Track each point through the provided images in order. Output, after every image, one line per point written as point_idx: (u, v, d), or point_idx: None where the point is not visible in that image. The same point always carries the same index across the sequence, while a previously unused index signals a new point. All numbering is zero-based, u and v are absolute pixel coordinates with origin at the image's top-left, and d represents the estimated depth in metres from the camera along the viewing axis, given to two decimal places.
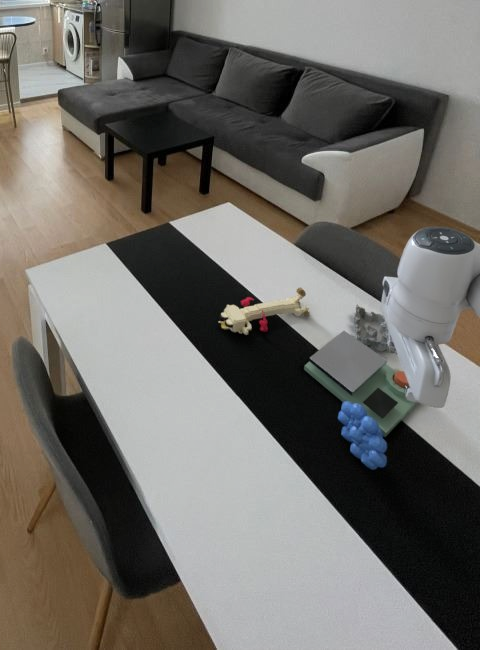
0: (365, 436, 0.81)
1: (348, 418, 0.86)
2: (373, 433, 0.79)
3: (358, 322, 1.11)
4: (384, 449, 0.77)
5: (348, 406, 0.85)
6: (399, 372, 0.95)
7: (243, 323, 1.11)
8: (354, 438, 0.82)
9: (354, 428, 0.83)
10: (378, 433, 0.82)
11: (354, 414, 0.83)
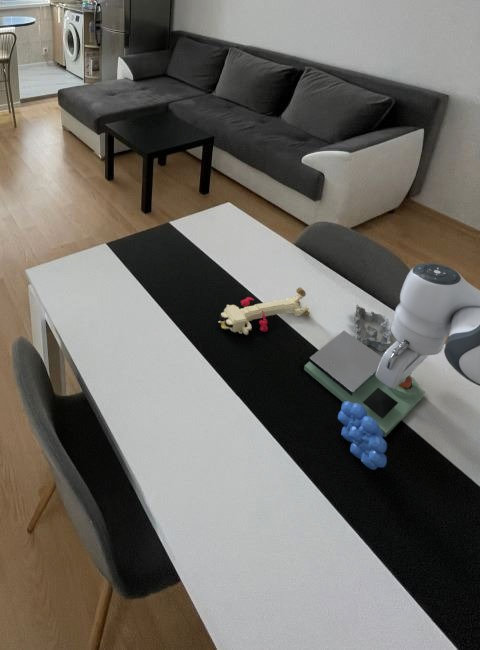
0: (365, 436, 0.81)
1: (348, 418, 0.86)
2: (373, 433, 0.79)
3: (358, 322, 1.11)
4: (384, 449, 0.77)
5: (348, 406, 0.85)
6: None
7: (243, 323, 1.11)
8: (354, 438, 0.82)
9: (354, 428, 0.83)
10: (378, 433, 0.82)
11: (354, 414, 0.83)
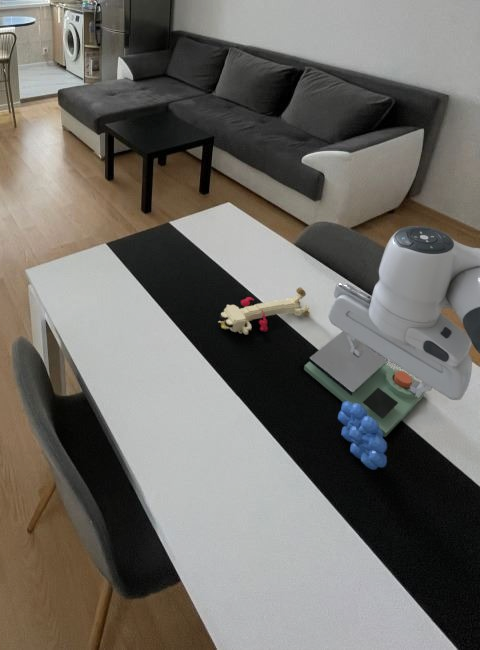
0: (365, 436, 0.81)
1: (348, 418, 0.86)
2: (373, 433, 0.79)
3: None
4: (384, 449, 0.77)
5: (348, 406, 0.85)
6: (399, 372, 0.96)
7: (243, 323, 1.11)
8: (354, 438, 0.82)
9: (354, 428, 0.83)
10: (378, 433, 0.82)
11: (354, 414, 0.83)
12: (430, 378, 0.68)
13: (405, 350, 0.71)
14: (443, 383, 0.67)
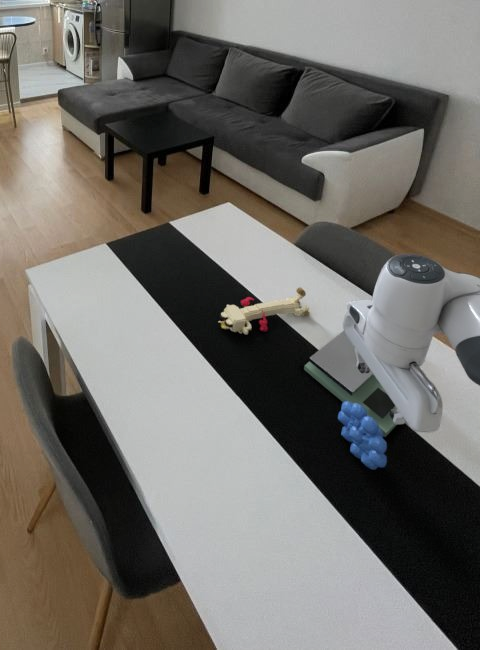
0: (365, 436, 0.81)
1: (348, 418, 0.86)
2: (373, 433, 0.79)
3: None
4: (384, 449, 0.77)
5: (348, 406, 0.85)
6: None
7: (243, 323, 1.11)
8: (354, 438, 0.82)
9: (354, 428, 0.83)
10: (378, 433, 0.82)
11: (354, 414, 0.83)
12: None
13: None
14: None
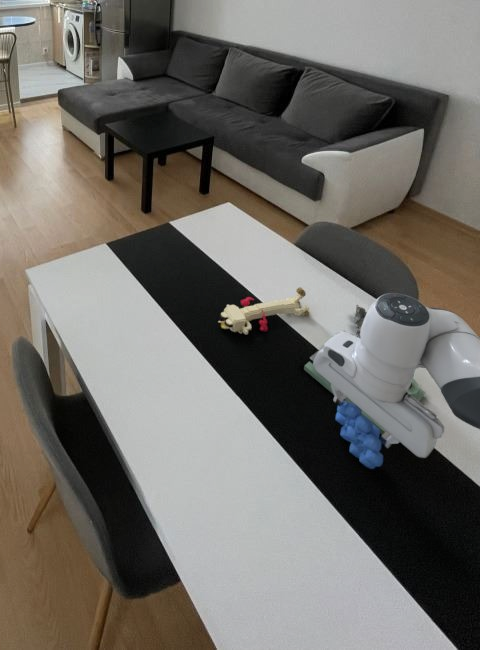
0: (360, 436, 0.81)
1: (345, 418, 0.86)
2: (367, 432, 0.79)
3: (358, 322, 1.11)
4: (378, 448, 0.77)
5: (343, 406, 0.86)
6: None
7: (243, 323, 1.11)
8: (350, 438, 0.82)
9: (350, 428, 0.83)
10: (374, 432, 0.82)
11: (348, 414, 0.83)
12: None
13: None
14: None
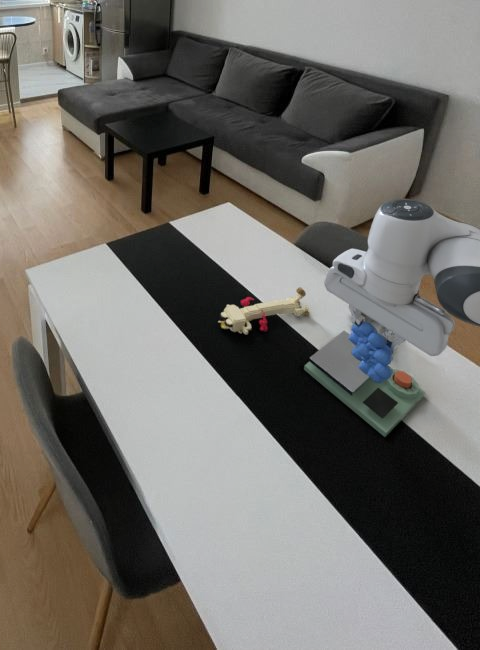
0: (372, 351, 0.82)
1: (358, 337, 0.87)
2: (379, 347, 0.80)
3: None
4: (388, 361, 0.78)
5: None
6: (399, 372, 0.96)
7: (243, 323, 1.11)
8: (361, 354, 0.84)
9: (362, 345, 0.84)
10: (387, 350, 0.83)
11: (362, 331, 0.84)
12: None
13: None
14: None
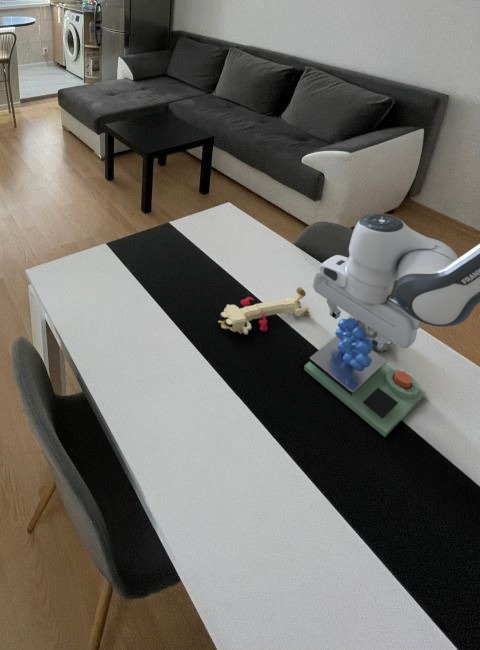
0: (354, 343, 0.94)
1: (343, 332, 0.99)
2: (361, 339, 0.93)
3: (358, 322, 1.11)
4: (368, 350, 0.90)
5: (344, 321, 0.99)
6: (399, 372, 0.96)
7: (243, 323, 1.11)
8: (345, 345, 0.96)
9: (346, 338, 0.97)
10: (367, 343, 0.95)
11: (347, 325, 0.96)
12: None
13: None
14: None
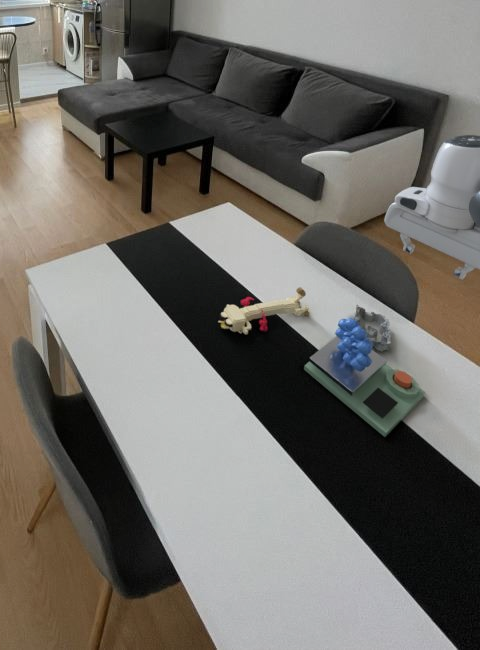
0: (355, 343, 0.94)
1: (343, 332, 0.99)
2: (361, 339, 0.93)
3: (358, 322, 1.11)
4: (368, 350, 0.90)
5: (344, 321, 0.99)
6: (399, 372, 0.96)
7: (243, 323, 1.11)
8: (345, 345, 0.96)
9: (346, 338, 0.97)
10: (367, 343, 0.95)
11: (347, 325, 0.96)
12: None
13: None
14: None
